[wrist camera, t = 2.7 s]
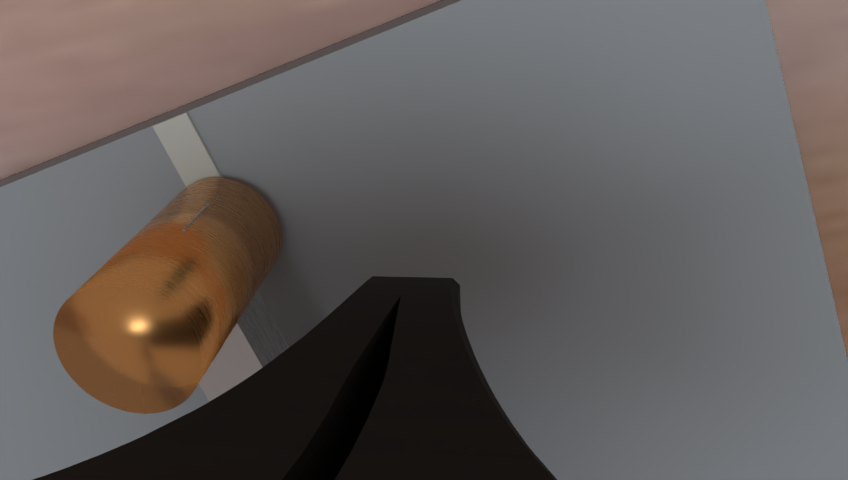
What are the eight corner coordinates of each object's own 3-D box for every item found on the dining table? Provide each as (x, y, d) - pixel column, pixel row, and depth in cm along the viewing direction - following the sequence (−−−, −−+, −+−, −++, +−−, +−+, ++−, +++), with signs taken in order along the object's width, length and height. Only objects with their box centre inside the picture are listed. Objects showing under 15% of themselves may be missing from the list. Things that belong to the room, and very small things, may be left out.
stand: (902, 645, 21) (924, 691, 20) (208, 744, 27) (194, 784, 26) (723, -115, 14) (741, -112, 12) (-175, 252, 20) (-220, 276, 18)
